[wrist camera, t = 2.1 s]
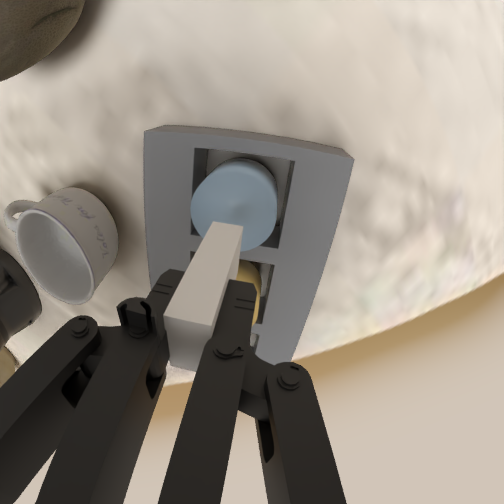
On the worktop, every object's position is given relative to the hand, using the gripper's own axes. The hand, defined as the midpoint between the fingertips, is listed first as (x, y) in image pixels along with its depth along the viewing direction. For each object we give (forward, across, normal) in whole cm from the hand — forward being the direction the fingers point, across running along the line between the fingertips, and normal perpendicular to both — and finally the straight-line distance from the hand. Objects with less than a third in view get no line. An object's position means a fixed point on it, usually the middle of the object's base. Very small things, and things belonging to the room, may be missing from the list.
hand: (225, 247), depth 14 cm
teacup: (+11, -18, -6) cm, 22 cm away
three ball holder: (+11, 0, -9) cm, 14 cm away
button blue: (+8, 0, 0) cm, 8 cm away
